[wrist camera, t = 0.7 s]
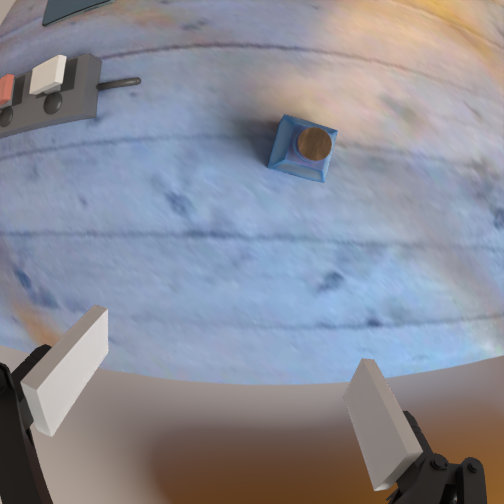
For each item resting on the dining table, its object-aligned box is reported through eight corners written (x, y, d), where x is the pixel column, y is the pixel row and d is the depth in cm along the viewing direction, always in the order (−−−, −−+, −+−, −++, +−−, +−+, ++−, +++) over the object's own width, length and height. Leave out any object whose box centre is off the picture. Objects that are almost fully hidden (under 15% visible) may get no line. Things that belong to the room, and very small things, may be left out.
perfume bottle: (279, 122, 37) (290, 103, 25) (325, 136, 37) (354, 123, 25) (267, 167, 38) (273, 166, 27) (313, 180, 39) (338, 185, 27)
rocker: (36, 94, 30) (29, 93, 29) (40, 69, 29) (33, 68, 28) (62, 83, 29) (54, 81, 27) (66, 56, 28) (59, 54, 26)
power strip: (-30, 147, 36) (-47, 148, 31) (-26, 104, 33) (-42, 102, 29) (139, 112, 36) (125, 105, 31) (145, 53, 34) (132, 41, 29)
